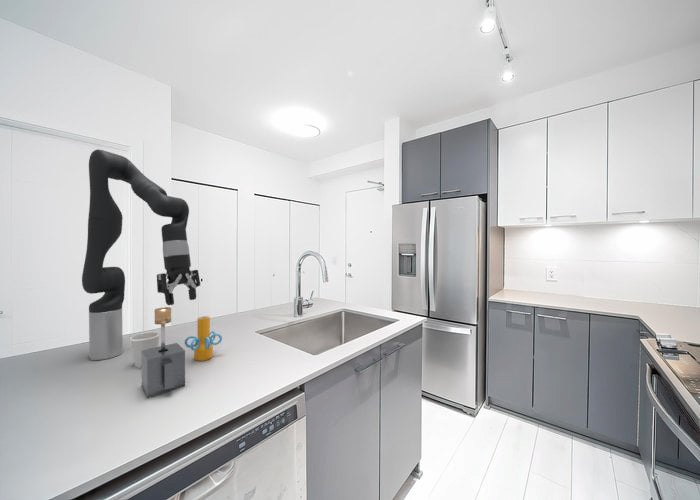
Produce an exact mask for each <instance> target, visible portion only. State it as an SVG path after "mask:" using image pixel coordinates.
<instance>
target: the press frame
mask: <svg viewBox="0 0 700 500" xmlns="http://www.w3.org/2000/svg"><path fill="white" fill-rule="evenodd" d="M141 362H142V367H141V388H142V390H143V392H144V394H145V396H146V398H147V400H148V399H150V398H153V397H156V396H159V395H162V394H165V393H168V392H172V391H174V390H179V389H181V388H184V387H186V350H185V349H184V348H183V347H182V346H181V345H180V344H178V342H175V343H169V344H165V352H161V345H159V346H158V347H156V348H151V349H147V350H142V351H141Z"/></svg>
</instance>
